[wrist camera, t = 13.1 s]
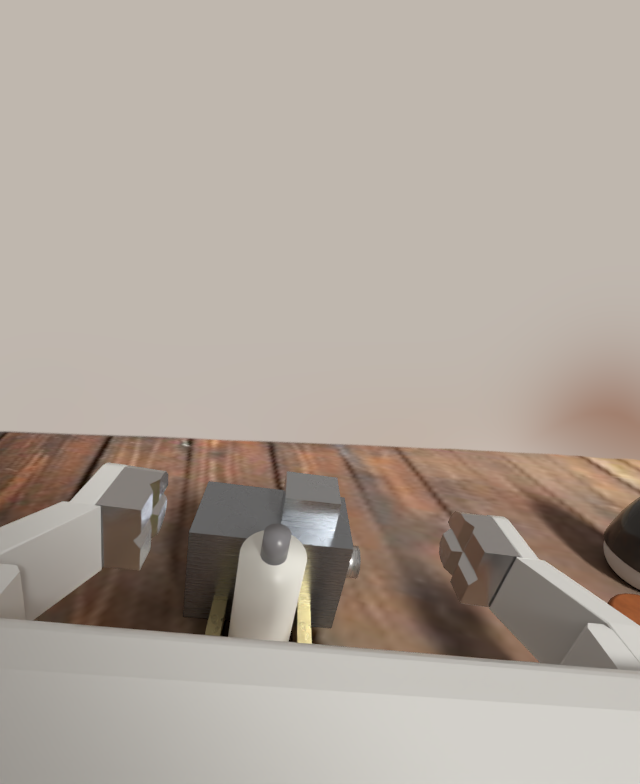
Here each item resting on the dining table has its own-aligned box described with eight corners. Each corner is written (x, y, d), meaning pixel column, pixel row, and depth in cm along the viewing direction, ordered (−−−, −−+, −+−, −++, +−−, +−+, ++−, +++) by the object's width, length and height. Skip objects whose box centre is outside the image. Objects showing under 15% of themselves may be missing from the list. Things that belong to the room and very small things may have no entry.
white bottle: (218, 691, 28) (237, 557, 23) (230, 629, 33) (247, 506, 28) (282, 695, 29) (312, 565, 24) (284, 633, 33) (311, 513, 28)
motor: (159, 690, 27) (164, 564, 23) (202, 556, 40) (211, 455, 35) (360, 701, 29) (402, 586, 25) (342, 569, 41) (368, 476, 37)
